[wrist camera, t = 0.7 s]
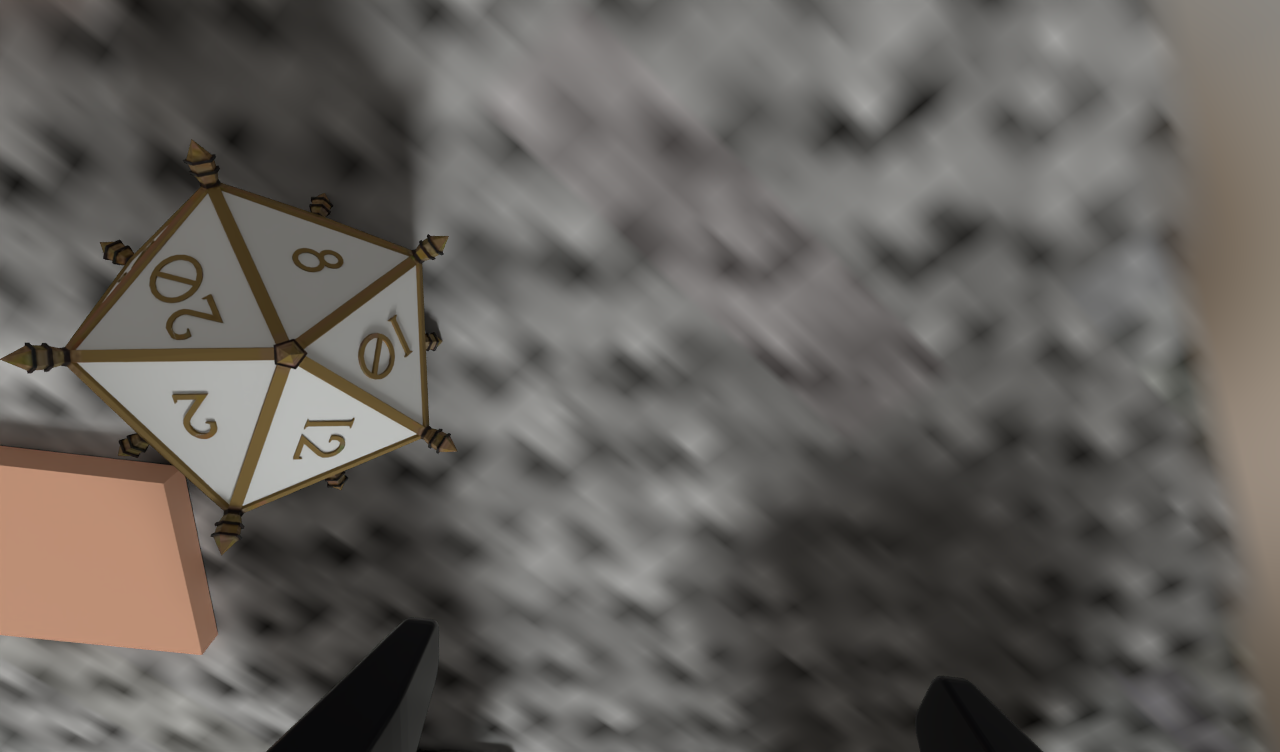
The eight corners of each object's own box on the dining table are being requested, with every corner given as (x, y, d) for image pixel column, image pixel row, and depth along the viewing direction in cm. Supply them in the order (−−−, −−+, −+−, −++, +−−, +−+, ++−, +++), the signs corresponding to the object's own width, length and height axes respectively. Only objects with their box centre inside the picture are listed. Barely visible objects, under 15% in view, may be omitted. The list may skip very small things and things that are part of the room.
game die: (334, 257, 23) (-90, 222, 14) (498, 143, 18) (18, -8, 10) (396, 504, 22) (-14, 622, 13) (584, 450, 17) (142, 578, 9)
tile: (217, 633, 25) (201, 655, 24) (8, 612, 25) (-16, 633, 24) (182, 466, 22) (163, 483, 21) (-61, 438, 22) (-92, 454, 21)
